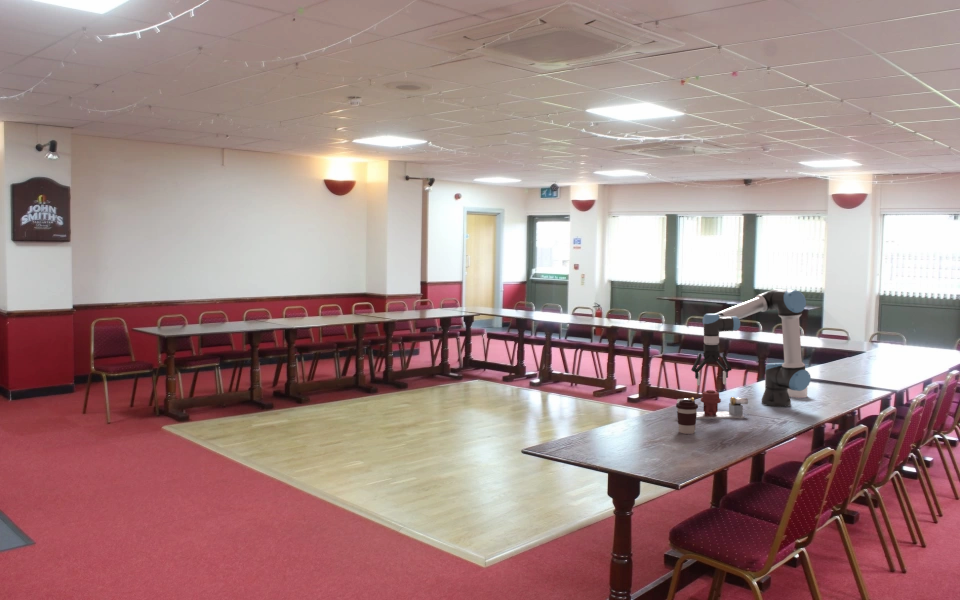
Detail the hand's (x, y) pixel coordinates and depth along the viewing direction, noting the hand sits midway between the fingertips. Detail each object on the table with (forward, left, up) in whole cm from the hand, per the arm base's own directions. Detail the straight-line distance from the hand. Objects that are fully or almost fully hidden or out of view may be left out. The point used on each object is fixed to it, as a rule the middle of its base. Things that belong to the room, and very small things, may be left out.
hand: (711, 384), depth 388 cm
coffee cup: (+23, +33, -17) cm, 43 cm away
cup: (-67, -49, -17) cm, 85 cm away
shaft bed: (-1, 0, -17) cm, 17 cm away
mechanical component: (0, 0, -16) cm, 16 cm away
